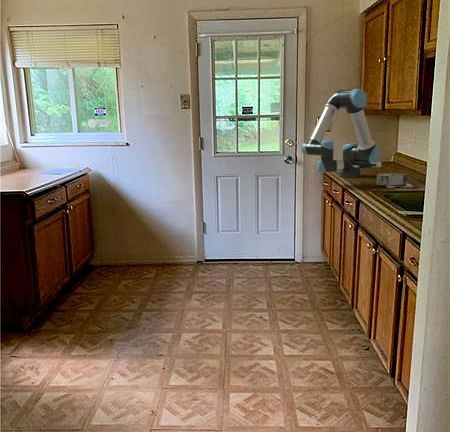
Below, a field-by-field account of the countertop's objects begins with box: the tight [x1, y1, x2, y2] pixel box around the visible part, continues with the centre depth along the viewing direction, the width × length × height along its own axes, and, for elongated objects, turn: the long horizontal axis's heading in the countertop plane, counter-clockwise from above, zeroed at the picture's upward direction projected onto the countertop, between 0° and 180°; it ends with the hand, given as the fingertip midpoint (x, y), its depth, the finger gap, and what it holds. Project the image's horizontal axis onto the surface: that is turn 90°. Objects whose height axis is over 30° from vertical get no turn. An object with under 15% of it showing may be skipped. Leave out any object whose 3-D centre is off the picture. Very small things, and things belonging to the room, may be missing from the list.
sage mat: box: [383, 182, 414, 189], centre depth 285 cm, size 19×14×1 cm
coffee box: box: [375, 172, 408, 188], centre depth 279 cm, size 9×6×16 cm
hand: (380, 164), depth 282 cm, fingers closed
